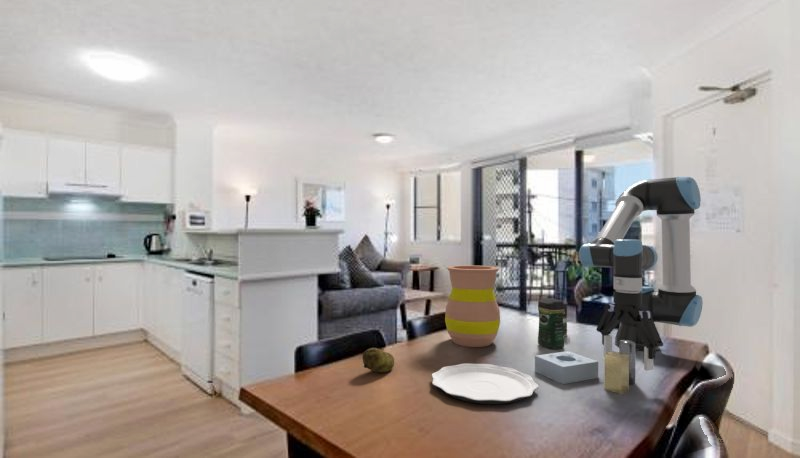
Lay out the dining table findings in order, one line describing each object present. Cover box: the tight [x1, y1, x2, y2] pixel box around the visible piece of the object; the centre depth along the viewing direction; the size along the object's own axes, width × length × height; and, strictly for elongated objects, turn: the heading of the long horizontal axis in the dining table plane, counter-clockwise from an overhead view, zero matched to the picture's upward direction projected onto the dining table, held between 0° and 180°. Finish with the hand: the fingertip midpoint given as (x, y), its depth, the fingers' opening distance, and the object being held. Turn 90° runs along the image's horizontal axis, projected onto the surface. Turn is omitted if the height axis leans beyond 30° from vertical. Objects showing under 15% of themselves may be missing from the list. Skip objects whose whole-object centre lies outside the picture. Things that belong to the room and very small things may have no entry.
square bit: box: [604, 350, 630, 395], centre depth 119 cm, size 5×5×10 cm
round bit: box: [618, 340, 636, 386], centre depth 124 cm, size 4×4×12 cm
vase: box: [444, 264, 501, 348], centre depth 169 cm, size 22×22×30 cm
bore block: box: [534, 350, 599, 385], centre depth 131 cm, size 14×12×5 cm
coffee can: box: [561, 300, 569, 337], centre depth 183 cm, size 10×10×14 cm
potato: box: [362, 347, 395, 374], centre depth 132 cm, size 8×13×8 cm, turn 127°
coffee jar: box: [537, 297, 565, 350], centre depth 163 cm, size 10×8×19 cm
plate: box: [431, 362, 539, 405], centre depth 120 cm, size 29×29×2 cm
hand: (627, 362), depth 124 cm, fingers open, 13 cm apart
